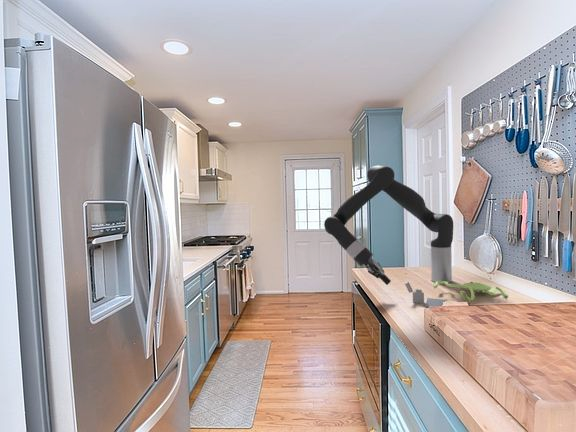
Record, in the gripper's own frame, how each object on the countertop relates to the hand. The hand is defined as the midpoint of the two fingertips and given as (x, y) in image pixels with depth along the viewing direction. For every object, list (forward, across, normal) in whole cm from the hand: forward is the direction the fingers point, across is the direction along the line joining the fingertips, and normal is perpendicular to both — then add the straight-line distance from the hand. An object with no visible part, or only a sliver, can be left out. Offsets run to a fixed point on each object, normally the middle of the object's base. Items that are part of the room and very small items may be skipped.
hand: (389, 283), depth 138 cm
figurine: (+26, +18, -16) cm, 35 cm away
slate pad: (+20, 0, -10) cm, 23 cm away
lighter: (+12, 0, -2) cm, 12 cm away
